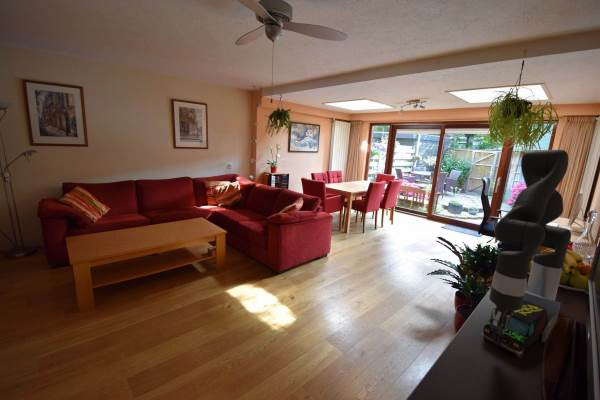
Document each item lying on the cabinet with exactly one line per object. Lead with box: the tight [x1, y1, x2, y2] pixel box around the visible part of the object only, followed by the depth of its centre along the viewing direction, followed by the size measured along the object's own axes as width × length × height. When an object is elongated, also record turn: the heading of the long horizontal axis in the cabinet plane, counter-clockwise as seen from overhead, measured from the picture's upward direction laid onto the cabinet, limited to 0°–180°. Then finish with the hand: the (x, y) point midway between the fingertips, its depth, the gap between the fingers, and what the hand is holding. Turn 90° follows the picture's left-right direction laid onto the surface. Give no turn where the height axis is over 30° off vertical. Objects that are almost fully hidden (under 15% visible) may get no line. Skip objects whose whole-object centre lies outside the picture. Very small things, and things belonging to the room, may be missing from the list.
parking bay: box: [490, 290, 562, 343], centre depth 98 cm, size 19×15×8 cm
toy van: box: [481, 300, 548, 359], centre depth 89 cm, size 11×25×10 cm, turn 123°
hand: (496, 342), depth 79 cm, fingers closed
